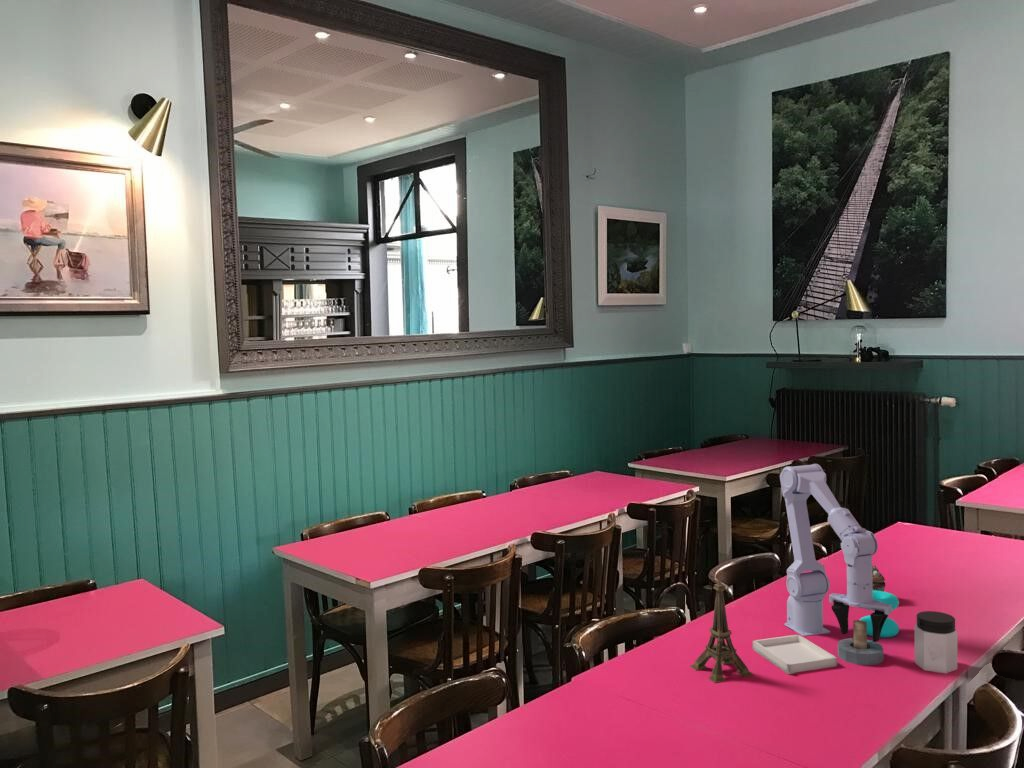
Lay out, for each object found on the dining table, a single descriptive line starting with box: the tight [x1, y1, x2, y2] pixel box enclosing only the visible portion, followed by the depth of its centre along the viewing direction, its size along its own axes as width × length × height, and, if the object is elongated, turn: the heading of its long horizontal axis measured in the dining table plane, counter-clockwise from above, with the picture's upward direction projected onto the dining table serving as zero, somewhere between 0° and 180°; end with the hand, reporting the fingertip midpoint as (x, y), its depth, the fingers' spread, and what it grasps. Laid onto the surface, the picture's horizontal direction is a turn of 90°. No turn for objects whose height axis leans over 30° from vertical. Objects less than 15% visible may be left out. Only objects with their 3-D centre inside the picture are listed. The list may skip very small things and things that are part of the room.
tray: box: [752, 633, 838, 675], centre depth 203 cm, size 16×13×2 cm
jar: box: [914, 610, 958, 674], centre depth 195 cm, size 9×8×12 cm
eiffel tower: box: [689, 571, 754, 684], centre depth 197 cm, size 11×11×25 cm
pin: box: [852, 619, 868, 650], centre depth 202 cm, size 3×3×8 cm
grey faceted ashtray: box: [837, 637, 884, 666], centre depth 202 cm, size 10×10×3 cm
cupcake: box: [872, 565, 887, 592], centre depth 244 cm, size 10×10×10 cm
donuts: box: [859, 590, 900, 638], centre depth 218 cm, size 10×10×10 cm
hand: (860, 637), depth 202 cm, fingers open, 7 cm apart
